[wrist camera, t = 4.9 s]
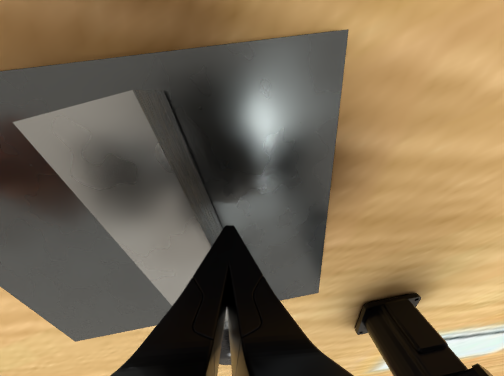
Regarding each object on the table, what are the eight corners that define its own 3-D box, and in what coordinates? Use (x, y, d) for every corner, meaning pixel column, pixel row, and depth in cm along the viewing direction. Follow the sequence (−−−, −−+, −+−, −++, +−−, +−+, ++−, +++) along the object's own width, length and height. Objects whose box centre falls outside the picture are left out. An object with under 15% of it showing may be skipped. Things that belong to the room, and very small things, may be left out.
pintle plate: (315, 286, 17) (342, 346, 13) (80, 333, 16) (31, 414, 12) (340, 33, 8) (457, -27, 4) (-214, 100, 7) (-865, 114, 3)
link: (265, 307, 16) (272, 345, 14) (211, 322, 16) (208, 362, 14) (183, 85, 7) (161, 81, 5) (63, 117, 7) (-17, 130, 5)
